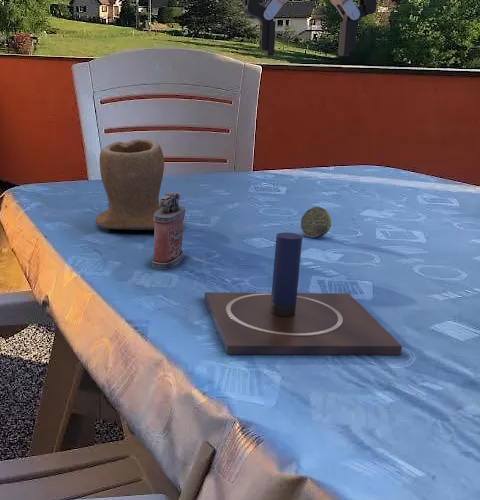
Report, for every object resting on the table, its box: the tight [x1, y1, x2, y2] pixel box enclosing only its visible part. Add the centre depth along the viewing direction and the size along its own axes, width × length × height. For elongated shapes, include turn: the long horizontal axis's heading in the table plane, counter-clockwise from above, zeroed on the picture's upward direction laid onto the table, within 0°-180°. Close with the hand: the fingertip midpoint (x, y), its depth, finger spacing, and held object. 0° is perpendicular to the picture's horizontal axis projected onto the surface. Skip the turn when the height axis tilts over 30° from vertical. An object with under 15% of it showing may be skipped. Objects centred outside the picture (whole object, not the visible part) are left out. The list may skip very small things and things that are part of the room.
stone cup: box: [95, 138, 186, 231], centre depth 117 cm, size 15×12×15 cm
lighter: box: [151, 191, 186, 270], centre depth 101 cm, size 8×3×10 cm, turn 159°
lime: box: [300, 206, 332, 238], centre depth 117 cm, size 4×5×5 cm
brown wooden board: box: [203, 291, 403, 356], centre depth 80 cm, size 18×16×1 cm
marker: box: [270, 232, 303, 316], centre depth 79 cm, size 3×3×9 cm
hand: (306, 55), depth 80 cm, fingers open, 8 cm apart
